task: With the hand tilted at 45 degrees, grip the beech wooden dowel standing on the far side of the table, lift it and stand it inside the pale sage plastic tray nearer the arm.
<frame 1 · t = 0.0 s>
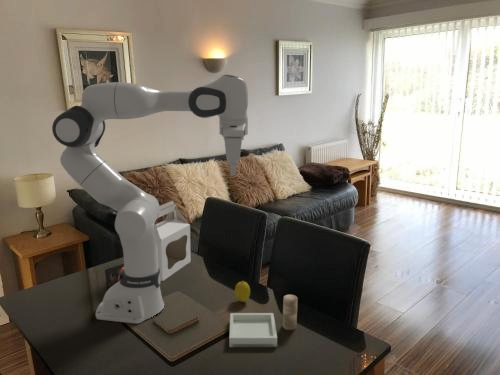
hand: (233, 172, 130), 48 cm above the table, tool pointing down, fingers open, 8 cm apart
tray: (252, 333, 126), on the table
dowel: (289, 326, 131), on the table
lemon: (242, 302, 146), on the table
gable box: (164, 268, 173), on the table
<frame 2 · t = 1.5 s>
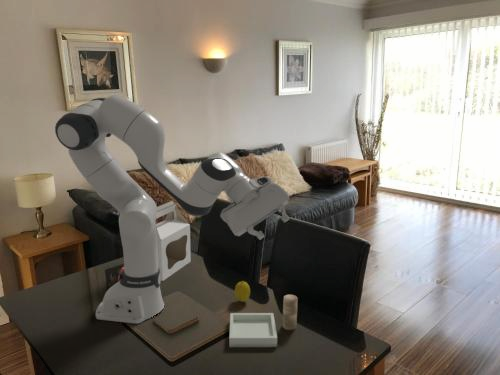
hand: (274, 228, 117), 35 cm above the table, tool tilted 55°, fingers open, 8 cm apart
nothing on the table moved.
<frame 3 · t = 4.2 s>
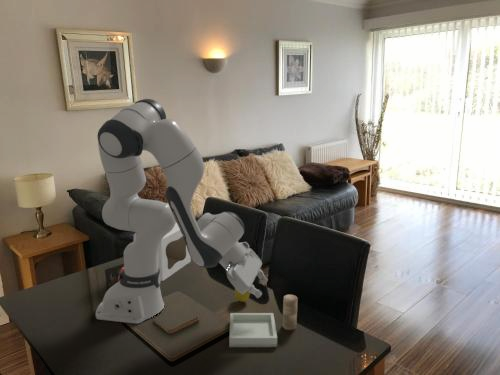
hand: (263, 289, 128), 13 cm above the table, tool tilted 45°, fingers open, 8 cm apart
nothing on the table moved.
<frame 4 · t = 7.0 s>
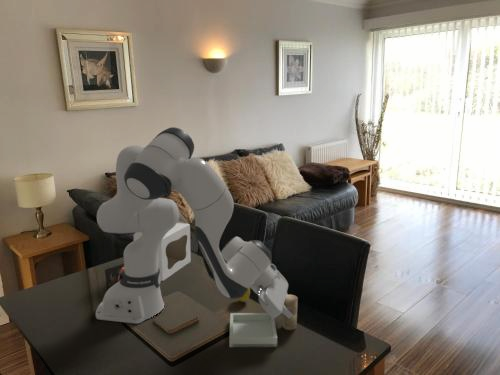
hand: (292, 311, 129), 5 cm above the table, tool tilted 45°, fingers closed on dowel, 4 cm apart
dowel: (289, 326, 131), on the table, touching gripper
everything else where it was.
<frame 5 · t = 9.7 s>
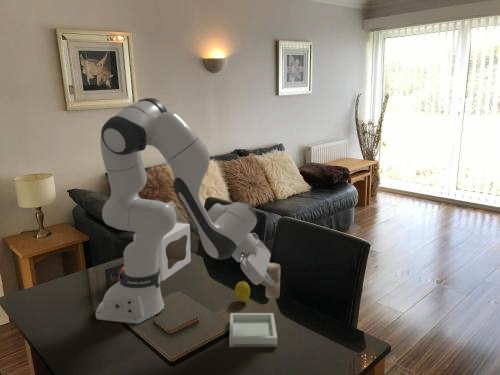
hand: (274, 279, 127), 16 cm above the table, tool tilted 45°, fingers closed on dowel, 4 cm apart
dowel: (272, 295, 128), point 11 cm above the table, touching gripper
everything else where it was.
when the fingers open (8 cm above the table, at t = 12.6 s): dowel drops 1 cm, resting on tray.
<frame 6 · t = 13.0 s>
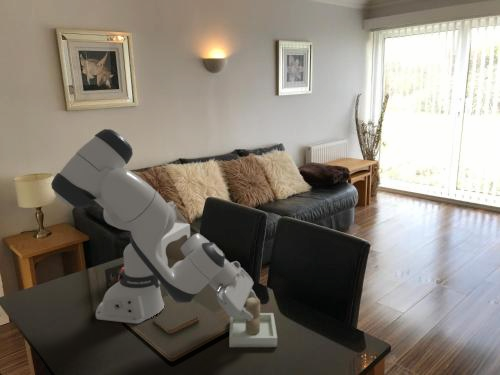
hand: (254, 310, 125), 8 cm above the table, tool tilted 45°, fingers open, 8 cm apart
dowel: (252, 330, 126), point 1 cm above the table, touching tray
everything else where it was.
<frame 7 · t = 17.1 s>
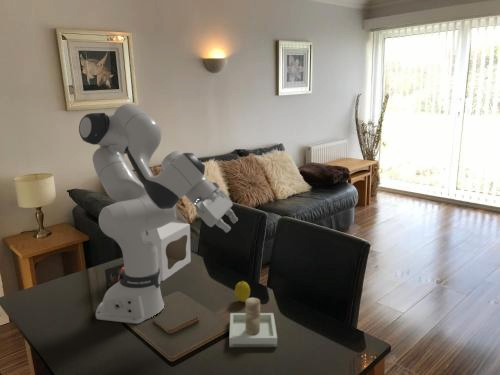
hand: (232, 226, 130), 31 cm above the table, tool tilted 45°, fingers open, 8 cm apart
nothing on the table moved.
at the end: dowel inside the target area on the tray (0.0 cm from its centre), point 1.0 cm above the tray's base; dowel tilted 0°; the gripper is holding nothing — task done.
